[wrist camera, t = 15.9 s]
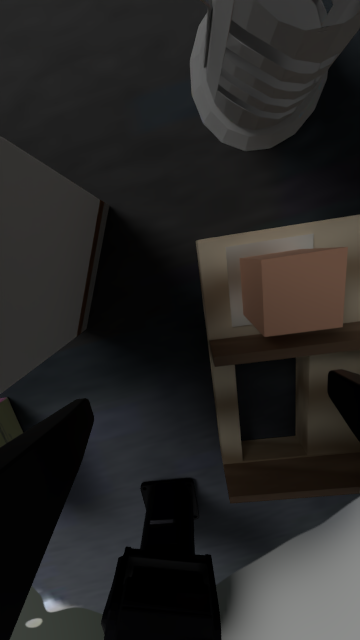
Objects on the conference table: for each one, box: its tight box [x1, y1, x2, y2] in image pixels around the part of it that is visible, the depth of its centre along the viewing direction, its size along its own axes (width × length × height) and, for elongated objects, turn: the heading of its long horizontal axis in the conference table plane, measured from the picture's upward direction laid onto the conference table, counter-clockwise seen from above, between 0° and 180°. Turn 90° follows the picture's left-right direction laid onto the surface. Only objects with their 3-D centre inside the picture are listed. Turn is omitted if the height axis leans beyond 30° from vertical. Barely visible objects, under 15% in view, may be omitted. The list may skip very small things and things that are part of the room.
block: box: [239, 247, 348, 337], centre depth 15 cm, size 4×4×5 cm
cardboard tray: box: [196, 215, 360, 503], centre depth 19 cm, size 23×18×6 cm
